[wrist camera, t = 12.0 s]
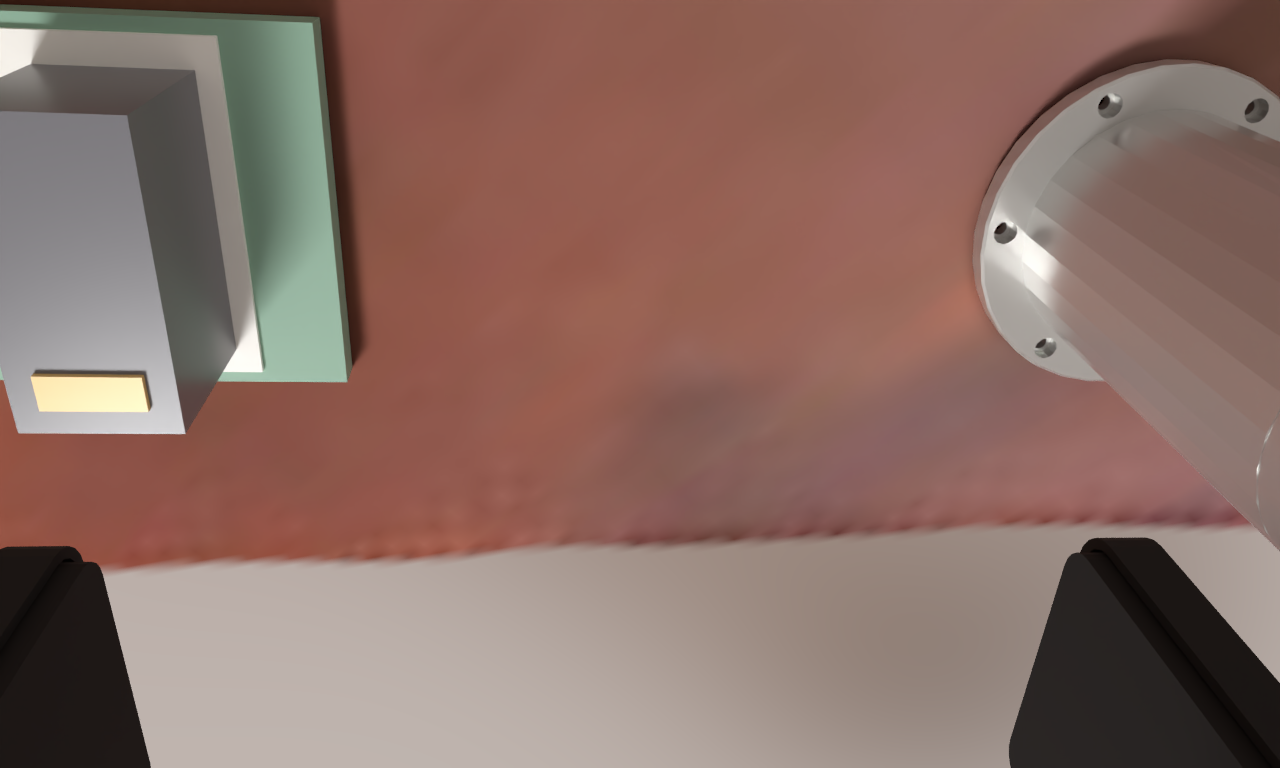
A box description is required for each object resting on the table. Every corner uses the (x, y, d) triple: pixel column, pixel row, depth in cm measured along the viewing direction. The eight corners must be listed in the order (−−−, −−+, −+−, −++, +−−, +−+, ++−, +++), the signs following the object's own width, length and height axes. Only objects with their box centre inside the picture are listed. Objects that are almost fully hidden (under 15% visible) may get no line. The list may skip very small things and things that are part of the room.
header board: (320, 17, 33) (281, 46, 29) (352, 367, 39) (325, 439, 35) (-101, -1, 32) (-213, 28, 27) (0, 364, 38) (-77, 439, 34)
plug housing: (194, 70, 33) (124, 116, 27) (236, 349, 37) (183, 437, 32) (30, 63, 32) (-75, 110, 27) (94, 347, 37) (15, 436, 31)
